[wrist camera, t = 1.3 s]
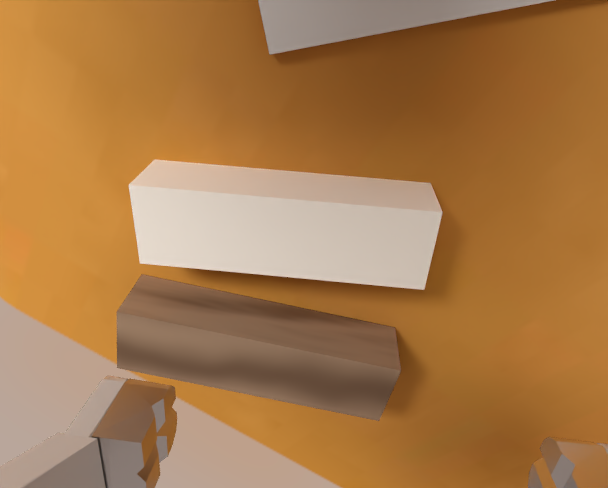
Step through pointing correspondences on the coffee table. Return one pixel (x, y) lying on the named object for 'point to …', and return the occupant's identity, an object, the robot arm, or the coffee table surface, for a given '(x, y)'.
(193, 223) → the cream floor plank
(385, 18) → the baseboard molding
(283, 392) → the brown wooden block
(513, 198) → the coffee table surface
